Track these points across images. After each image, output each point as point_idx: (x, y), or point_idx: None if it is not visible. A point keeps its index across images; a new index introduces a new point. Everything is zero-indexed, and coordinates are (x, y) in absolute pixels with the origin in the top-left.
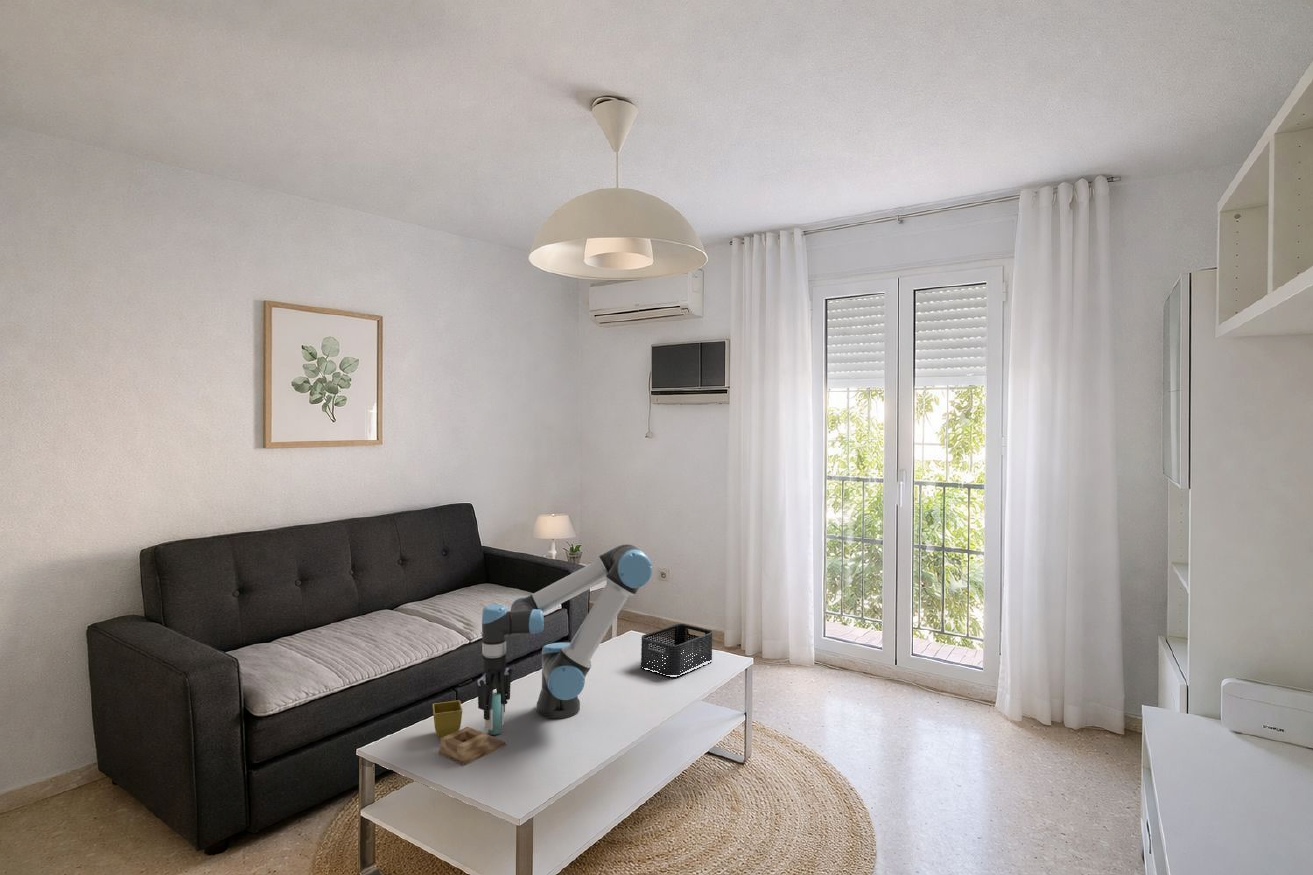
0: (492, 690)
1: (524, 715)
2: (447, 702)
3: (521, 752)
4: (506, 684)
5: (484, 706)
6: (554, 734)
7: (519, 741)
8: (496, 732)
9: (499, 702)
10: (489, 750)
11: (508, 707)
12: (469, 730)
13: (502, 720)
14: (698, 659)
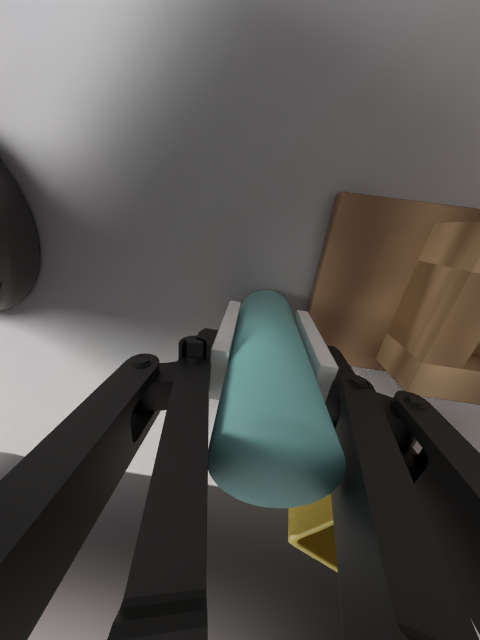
0: (404, 574)
1: (86, 310)
2: (330, 562)
3: (389, 29)
4: (59, 514)
5: (431, 416)
6: (111, 11)
7: (277, 154)
8: (279, 295)
9: (268, 367)
10: (448, 205)
11: (88, 390)
12: (451, 358)
13: (235, 308)
14: None
